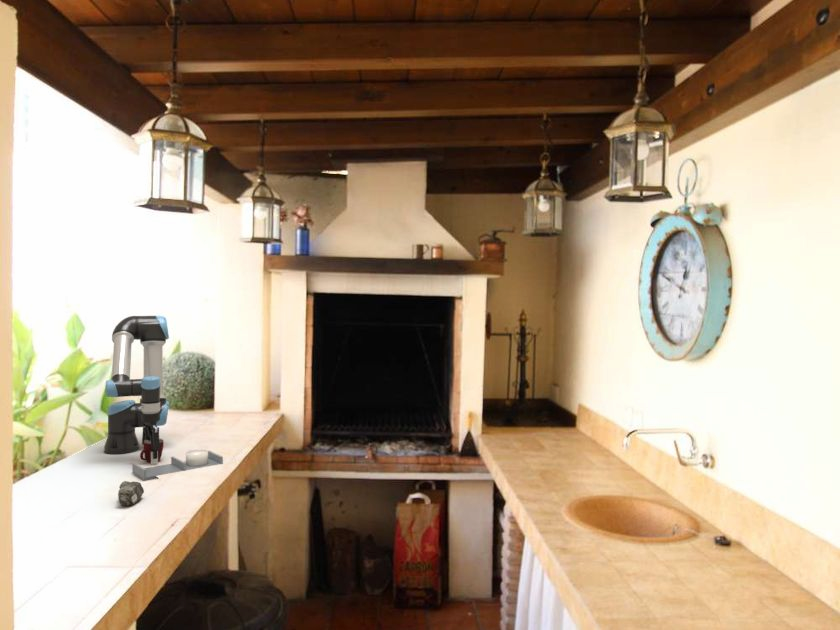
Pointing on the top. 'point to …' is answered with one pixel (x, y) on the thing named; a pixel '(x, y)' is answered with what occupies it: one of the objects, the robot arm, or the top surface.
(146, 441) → the red cup
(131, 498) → the stone
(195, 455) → the white egg shape
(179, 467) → the rack
